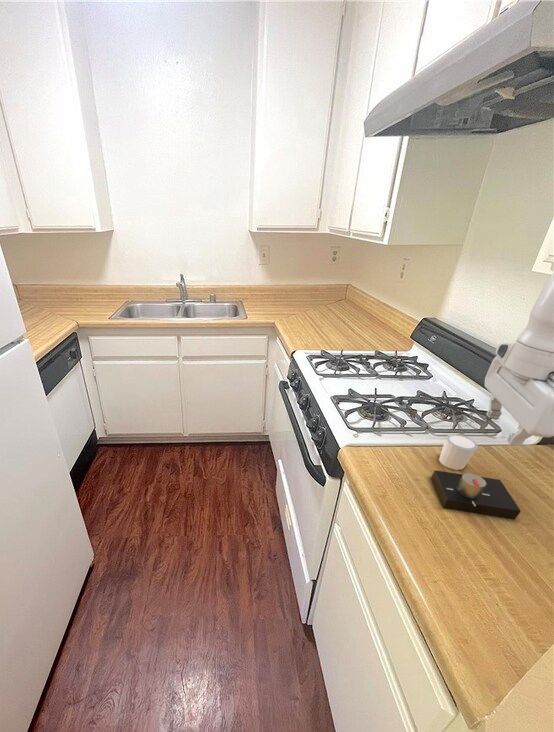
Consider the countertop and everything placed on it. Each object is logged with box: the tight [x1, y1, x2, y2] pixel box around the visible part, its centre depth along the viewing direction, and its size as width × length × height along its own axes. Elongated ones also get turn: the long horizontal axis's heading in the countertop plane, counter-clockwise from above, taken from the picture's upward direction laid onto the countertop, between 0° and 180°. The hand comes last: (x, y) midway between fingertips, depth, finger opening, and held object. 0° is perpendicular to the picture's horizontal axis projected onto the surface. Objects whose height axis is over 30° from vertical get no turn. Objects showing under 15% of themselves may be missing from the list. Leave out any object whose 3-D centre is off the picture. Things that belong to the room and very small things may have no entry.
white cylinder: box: [438, 433, 479, 471], centre depth 86 cm, size 7×7×7 cm
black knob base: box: [430, 469, 522, 521], centre depth 76 cm, size 14×11×3 cm
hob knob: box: [456, 472, 486, 499], centre depth 74 cm, size 4×4×4 cm
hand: (501, 430), depth 66 cm, fingers open, 8 cm apart
